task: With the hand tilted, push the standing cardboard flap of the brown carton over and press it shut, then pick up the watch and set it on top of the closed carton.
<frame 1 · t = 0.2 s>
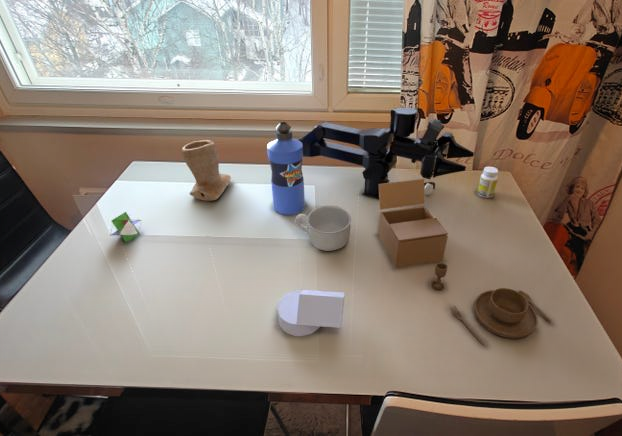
hand: (469, 161, 100), 17 cm above the table, tool horizontal, fingers open, 9 cm apart
geometric puzzle: (129, 238, 100), on the table
supplement bottle: (484, 194, 118), on the table
watch: (423, 192, 120), on the table
teacup: (323, 242, 99), on the table
place setting: (488, 304, 81), on the table
wedge on round base: (310, 319, 78), on the table
stone cup: (209, 190, 120), on the table
water bottle: (289, 206, 112), on the table
carton: (408, 247, 97), on the table
flap: (402, 194, 97), point 11 cm above the table, hinge at 112.0°
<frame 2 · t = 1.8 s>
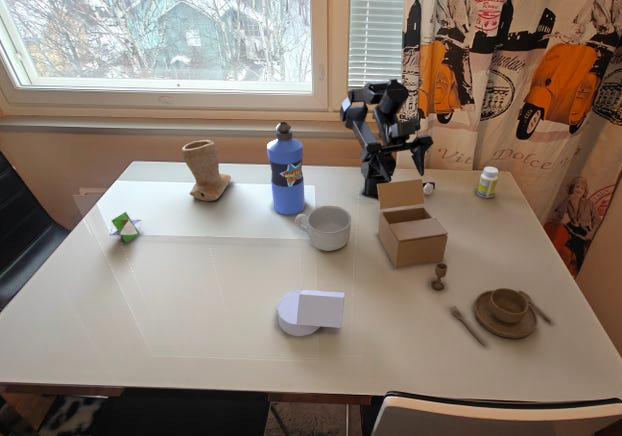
hand: (406, 178, 98), 14 cm above the table, tool tilted 50°, fingers open, 9 cm apart
flap: (401, 194, 97), point 11 cm above the table, hinge at 123.8°
everything else where it was.
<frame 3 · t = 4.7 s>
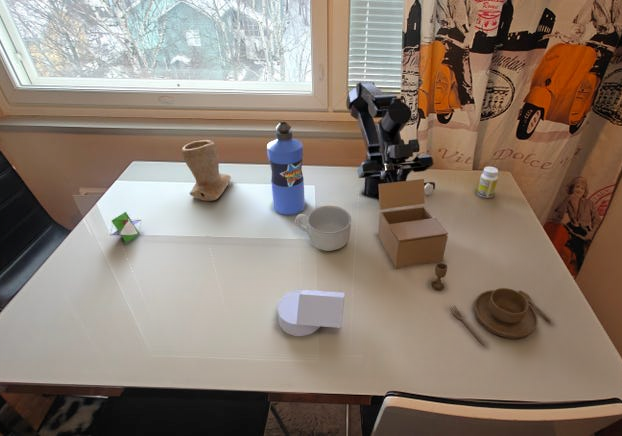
hand: (401, 198, 97), 10 cm above the table, tool tilted 45°, fingers closed, pressing on flap
flap: (402, 194, 97), point 11 cm above the table, hinge at 112.4°, touching gripper
everything else where it was.
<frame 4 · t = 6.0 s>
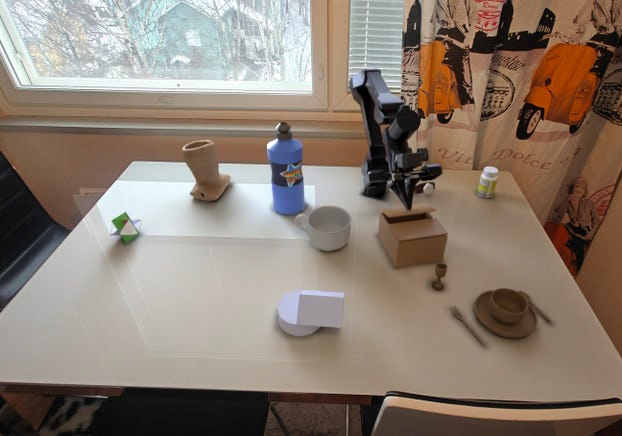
hand: (409, 209, 93), 10 cm above the table, tool tilted 45°, fingers closed, pressing on flap
flap: (407, 210, 94), point 9 cm above the table, hinge at 17.5°, touching gripper
everything else where it was.
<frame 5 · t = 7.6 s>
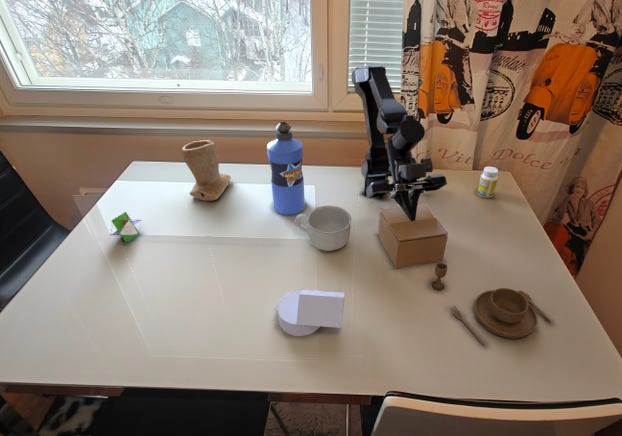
hand: (413, 220, 92), 8 cm above the table, tool tilted 45°, fingers closed, pressing on carton, flap
flap: (407, 214, 95), point 8 cm above the table, hinge at -2.6°, touching gripper
everything else where it was.
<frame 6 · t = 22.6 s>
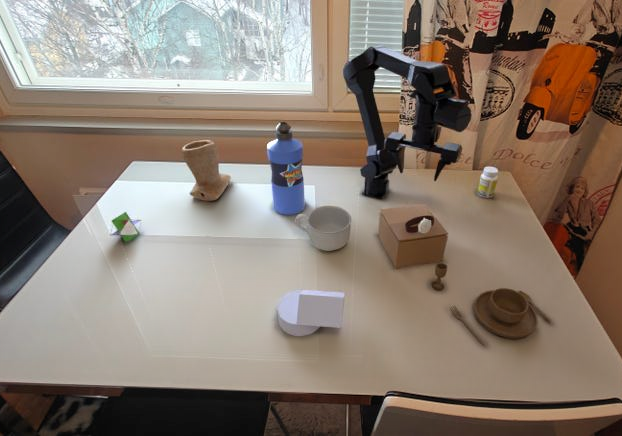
hand: (418, 176, 102), 12 cm above the table, tool pointing down, fingers open, 9 cm apart
watch: (418, 229, 89), point 8 cm above the table, touching carton
flap: (407, 214, 95), point 8 cm above the table, hinge at -1.4°
everything else where it was.
at the end: flap at -1° (first picture: +112°); watch inside the target area on the carton (3.4 cm from its centre), point 8.1 cm above the carton's base; the gripper is holding nothing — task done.
